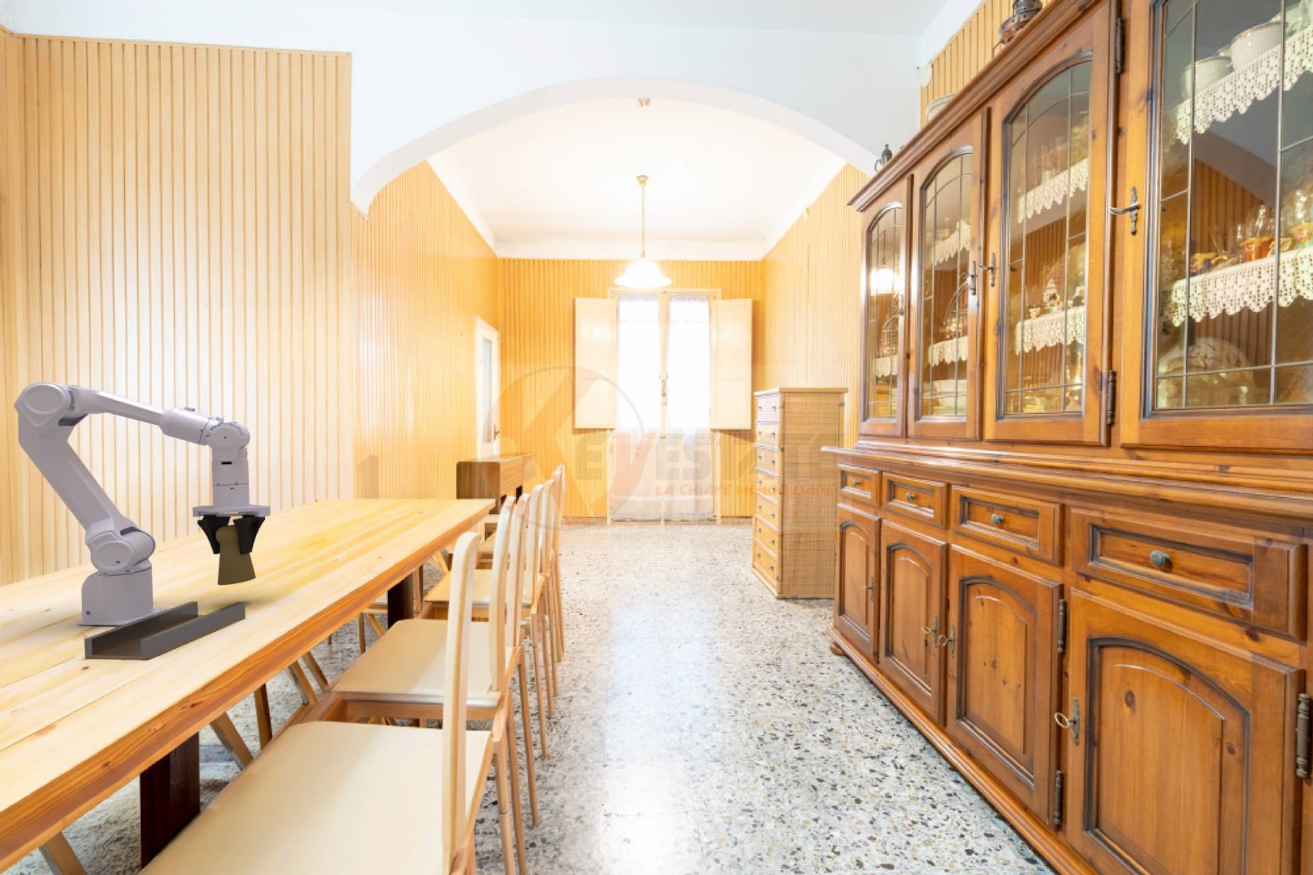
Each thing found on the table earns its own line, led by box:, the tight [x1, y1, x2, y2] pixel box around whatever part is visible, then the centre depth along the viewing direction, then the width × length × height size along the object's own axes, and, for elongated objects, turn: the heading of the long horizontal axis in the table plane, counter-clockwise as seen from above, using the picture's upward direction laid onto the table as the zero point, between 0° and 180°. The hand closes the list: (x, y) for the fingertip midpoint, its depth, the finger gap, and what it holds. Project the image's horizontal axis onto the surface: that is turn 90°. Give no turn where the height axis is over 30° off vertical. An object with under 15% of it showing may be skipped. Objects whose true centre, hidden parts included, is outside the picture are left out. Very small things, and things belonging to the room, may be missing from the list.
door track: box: [83, 600, 246, 661], centre depth 93 cm, size 10×18×3 cm, turn 176°
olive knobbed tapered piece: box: [216, 523, 257, 586], centre depth 110 cm, size 6×6×11 cm
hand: (232, 553), depth 109 cm, fingers closed on olive knobbed tapered piece, 5 cm apart
